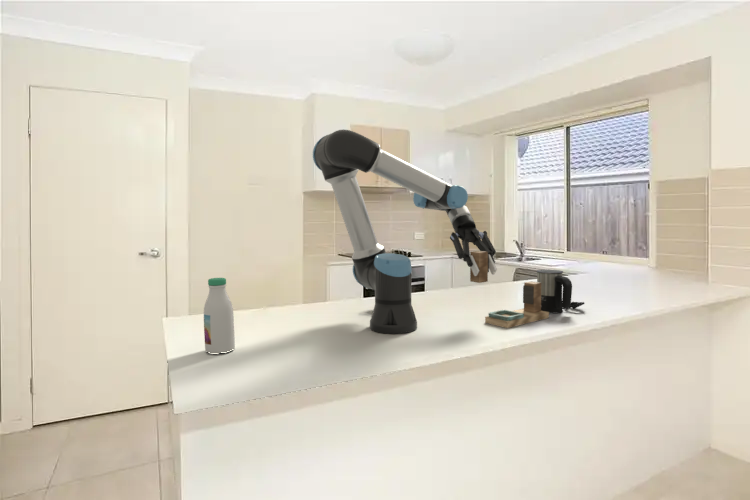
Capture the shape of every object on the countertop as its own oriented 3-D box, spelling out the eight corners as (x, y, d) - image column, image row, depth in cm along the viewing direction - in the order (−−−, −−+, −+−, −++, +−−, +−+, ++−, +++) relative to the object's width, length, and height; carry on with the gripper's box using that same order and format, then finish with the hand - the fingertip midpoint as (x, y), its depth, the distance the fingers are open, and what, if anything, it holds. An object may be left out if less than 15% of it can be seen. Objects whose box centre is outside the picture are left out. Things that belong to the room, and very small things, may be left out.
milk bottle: (238, 346, 129) (235, 276, 127) (230, 355, 121) (227, 280, 119) (210, 347, 128) (207, 276, 127) (201, 355, 121) (197, 281, 119)
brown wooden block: (479, 282, 150) (479, 252, 148) (470, 281, 153) (470, 251, 152) (489, 281, 152) (489, 251, 151) (480, 279, 156) (480, 250, 154)
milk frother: (531, 310, 168) (531, 270, 167) (551, 304, 178) (552, 266, 177) (569, 317, 157) (569, 274, 156) (588, 310, 168) (589, 270, 166)
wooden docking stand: (507, 328, 144) (507, 290, 143) (485, 322, 151) (485, 286, 150) (548, 317, 156) (549, 283, 155) (526, 313, 164) (527, 280, 163)
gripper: (481, 227, 168) (506, 277, 154) (434, 229, 163) (456, 281, 149) (489, 212, 162) (515, 263, 148) (440, 214, 157) (463, 267, 143)
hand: (485, 272), depth 149 cm, fingers closed on brown wooden block, 6 cm apart
